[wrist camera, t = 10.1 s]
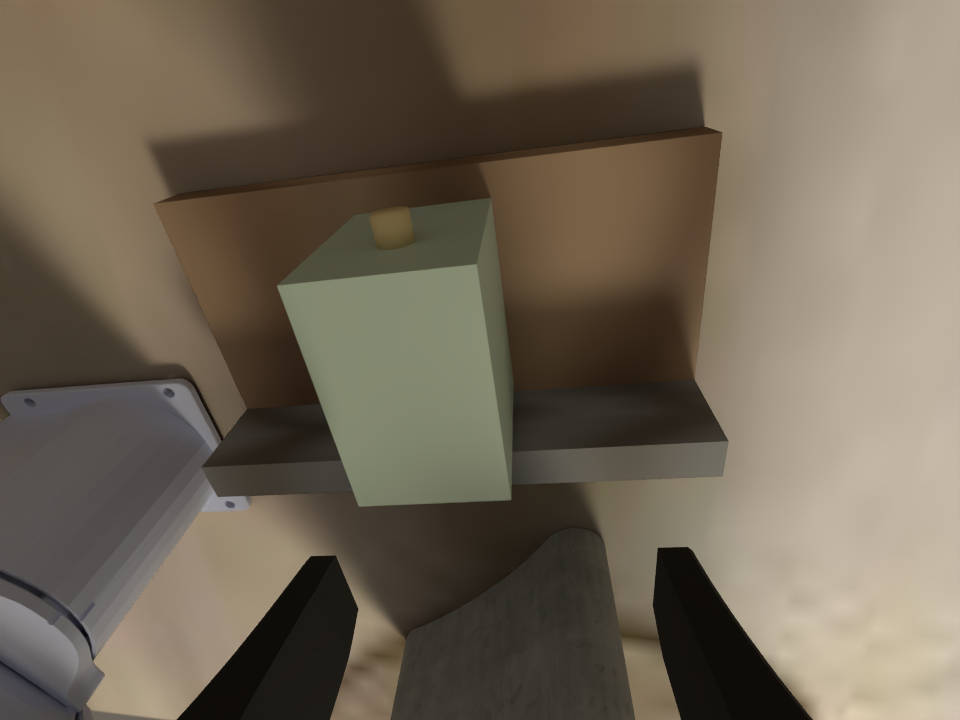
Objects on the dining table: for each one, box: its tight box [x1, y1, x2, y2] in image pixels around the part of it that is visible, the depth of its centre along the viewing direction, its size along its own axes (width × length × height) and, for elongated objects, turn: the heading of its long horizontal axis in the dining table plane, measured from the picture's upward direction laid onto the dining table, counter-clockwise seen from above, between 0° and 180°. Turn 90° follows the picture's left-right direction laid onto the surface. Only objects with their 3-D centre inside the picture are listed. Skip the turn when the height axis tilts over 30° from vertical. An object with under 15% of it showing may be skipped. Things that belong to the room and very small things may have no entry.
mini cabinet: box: [277, 198, 514, 507], centre depth 15 cm, size 4×8×6 cm, turn 8°
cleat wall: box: [154, 127, 728, 497], centre depth 17 cm, size 18×10×5 cm, turn 98°
